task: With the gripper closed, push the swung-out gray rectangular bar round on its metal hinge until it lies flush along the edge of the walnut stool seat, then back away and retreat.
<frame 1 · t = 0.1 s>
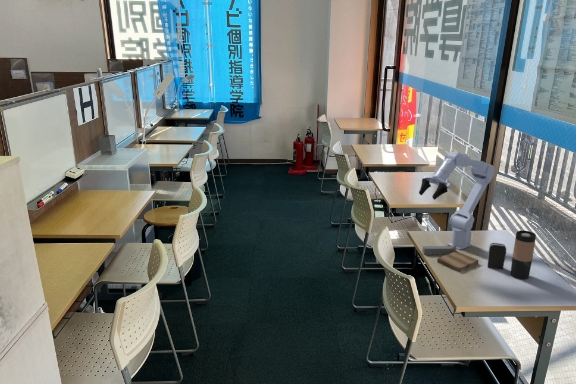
hand: (426, 196, 201), 32 cm above the table, tool tilted 50°, fingers open, 7 cm apart
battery: (494, 267, 203), on the table
stool seat: (457, 263, 206), on the table
travel mug: (519, 276, 194), on the table
gray rectangular bar: (436, 250, 216), point 2 cm above the table, hinge at -35.0°
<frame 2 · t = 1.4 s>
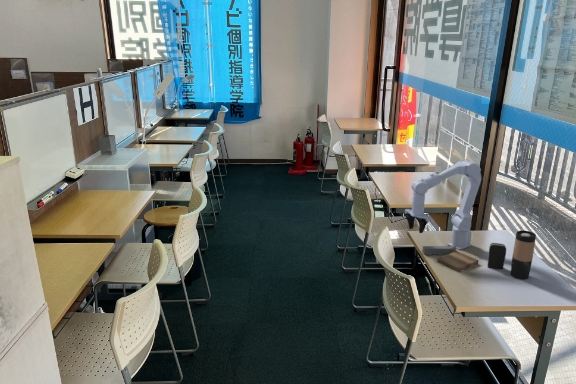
hand: (416, 230, 220), 9 cm above the table, tool pointing down, fingers open, 6 cm apart
nothing on the table moved.
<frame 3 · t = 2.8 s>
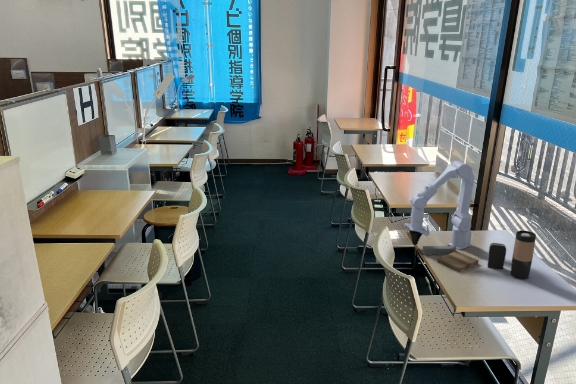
hand: (415, 244, 223), 2 cm above the table, tool pointing down, fingers closed
nothing on the table moved.
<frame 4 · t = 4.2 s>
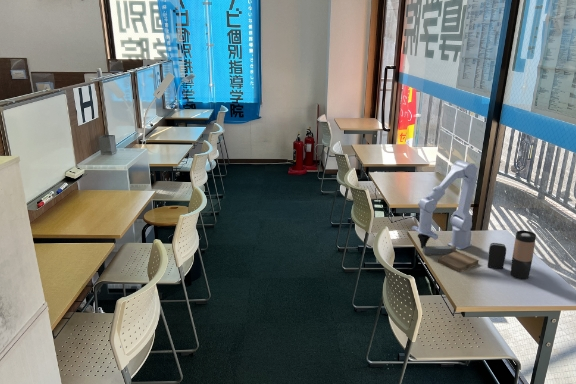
hand: (423, 247, 218), 2 cm above the table, tool pointing down, fingers closed
gray rectangular bar: (436, 250, 216), point 2 cm above the table, hinge at -33.8°, touching gripper
everything else where it was.
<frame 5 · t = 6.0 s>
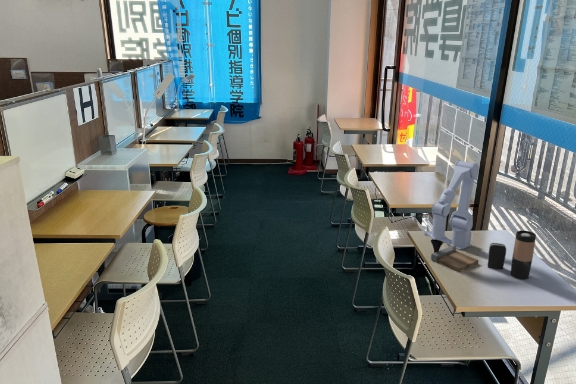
hand: (436, 253, 212), 2 cm above the table, tool pointing down, fingers closed
gray rectangular bar: (442, 254, 212), point 2 cm above the table, hinge at 0.4°, touching gripper
everything else where it was.
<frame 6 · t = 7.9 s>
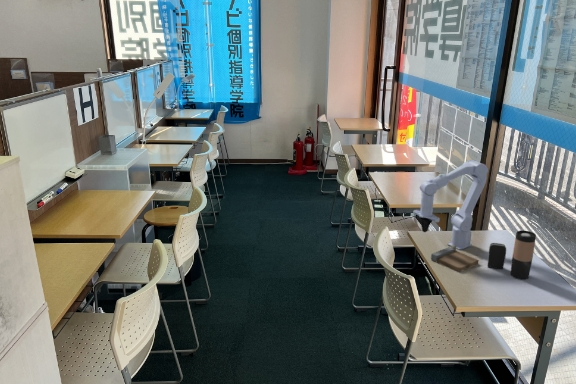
hand: (424, 231, 219), 9 cm above the table, tool pointing down, fingers closed
gray rectangular bar: (442, 254, 212), point 2 cm above the table, hinge at 0.5°
everything else where it was.
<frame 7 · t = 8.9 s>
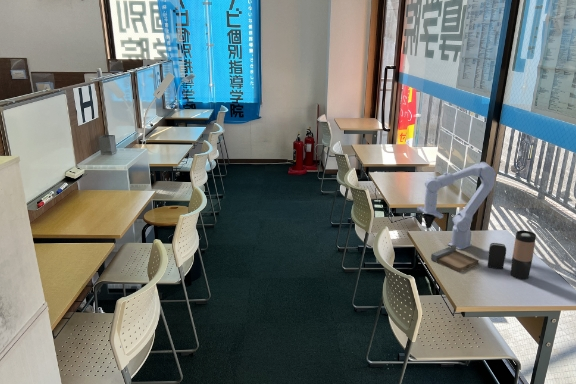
hand: (428, 227, 224), 9 cm above the table, tool pointing down, fingers closed
nothing on the table moved.
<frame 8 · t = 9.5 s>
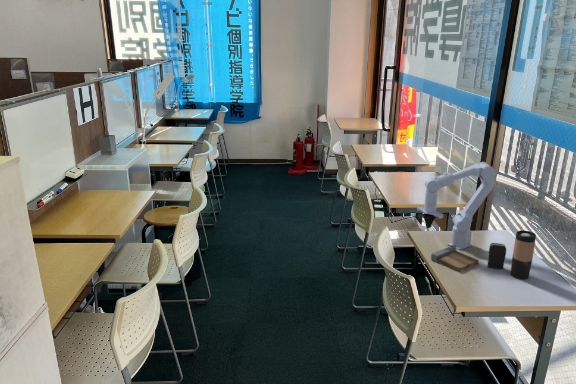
hand: (428, 227, 224), 9 cm above the table, tool pointing down, fingers closed
nothing on the table moved.
at the end: gray rectangular bar at +0° (first picture: -35°); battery moved 0.2 cm from its start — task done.
